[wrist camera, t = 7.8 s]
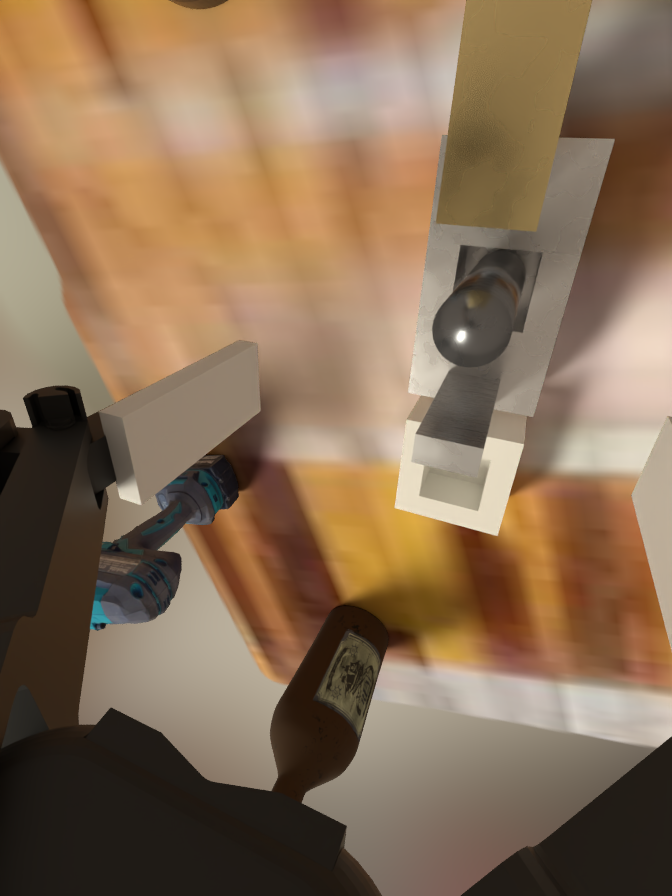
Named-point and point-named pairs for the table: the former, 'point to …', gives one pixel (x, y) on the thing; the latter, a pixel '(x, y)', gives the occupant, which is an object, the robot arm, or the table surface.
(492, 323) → the smooth metal cylinder
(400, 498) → the cream square block
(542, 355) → the grey post stand
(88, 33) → the table surface
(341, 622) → the olive oil
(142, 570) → the impact wrench
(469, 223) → the rectangular wooden block
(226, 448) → the table surface
